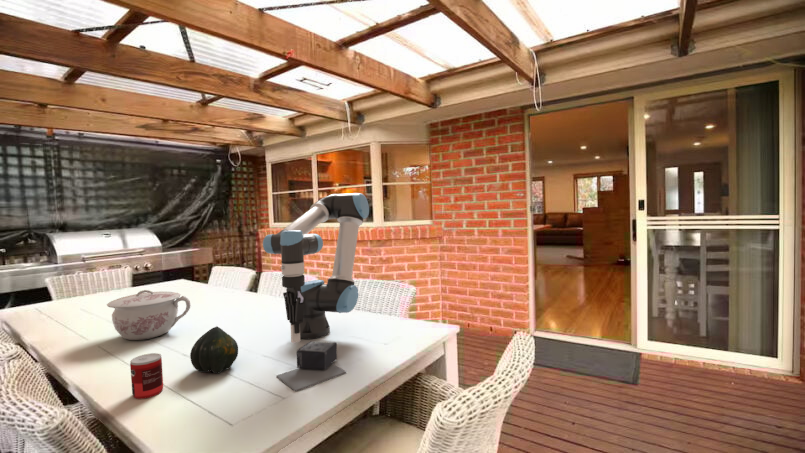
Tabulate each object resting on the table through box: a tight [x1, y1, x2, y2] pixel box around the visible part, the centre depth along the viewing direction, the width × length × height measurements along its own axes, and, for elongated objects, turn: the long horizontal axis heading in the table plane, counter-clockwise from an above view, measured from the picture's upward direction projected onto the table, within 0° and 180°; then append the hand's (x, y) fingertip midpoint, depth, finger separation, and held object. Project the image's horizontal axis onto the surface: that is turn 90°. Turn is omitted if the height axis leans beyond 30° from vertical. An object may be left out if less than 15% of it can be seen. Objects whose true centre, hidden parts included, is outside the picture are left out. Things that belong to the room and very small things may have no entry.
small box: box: [296, 341, 338, 369], centre depth 130 cm, size 11×6×10 cm
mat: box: [276, 363, 347, 392], centre depth 123 cm, size 14×18×1 cm
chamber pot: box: [106, 289, 192, 341], centre depth 168 cm, size 28×28×21 cm
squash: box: [189, 325, 239, 374], centre depth 130 cm, size 14×15×15 cm
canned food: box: [129, 352, 164, 400], centre depth 113 cm, size 8×8×11 cm
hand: (295, 341), depth 130 cm, fingers closed
